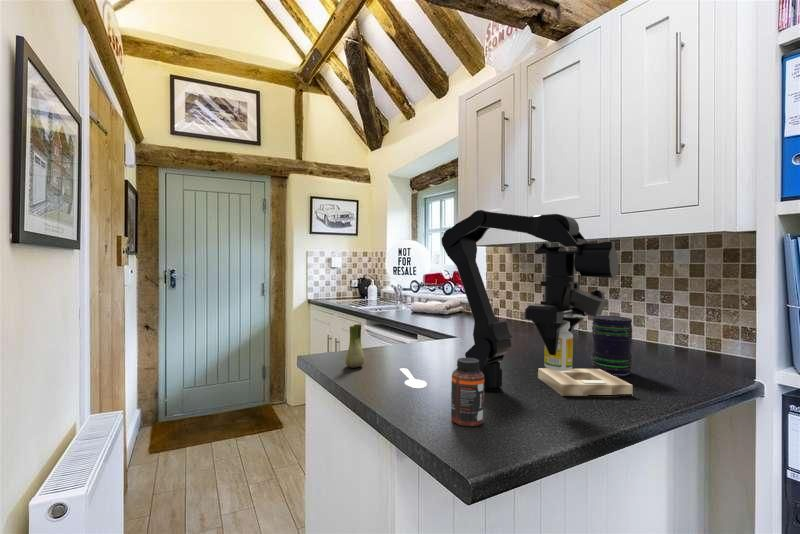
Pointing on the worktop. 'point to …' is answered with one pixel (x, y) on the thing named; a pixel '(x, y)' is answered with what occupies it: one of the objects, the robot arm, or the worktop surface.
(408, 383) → the spoon
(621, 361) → the storage jar
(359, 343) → the fennel bulb
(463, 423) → the supplement bottle
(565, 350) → the supplement bottle
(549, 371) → the wooden frame
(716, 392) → the worktop surface
